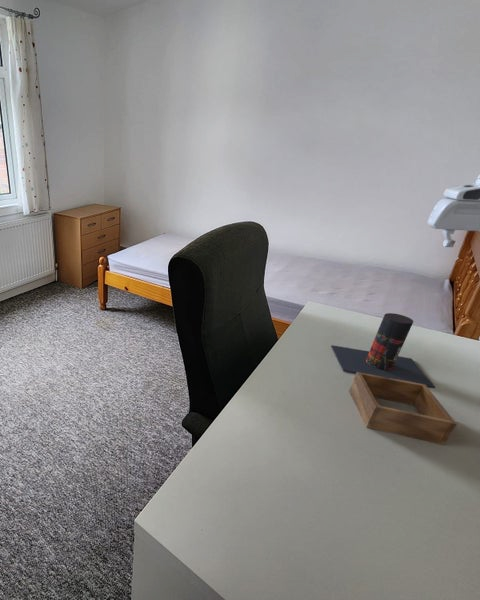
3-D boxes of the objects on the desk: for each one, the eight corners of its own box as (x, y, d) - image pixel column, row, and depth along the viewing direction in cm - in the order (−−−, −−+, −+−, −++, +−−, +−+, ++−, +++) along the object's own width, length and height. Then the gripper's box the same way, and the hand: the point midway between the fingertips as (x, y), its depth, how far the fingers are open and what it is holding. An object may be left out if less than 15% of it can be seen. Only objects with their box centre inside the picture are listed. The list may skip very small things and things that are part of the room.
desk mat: (410, 359, 100) (411, 358, 100) (434, 388, 89) (435, 386, 88) (331, 346, 107) (331, 345, 107) (343, 371, 96) (343, 369, 95)
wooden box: (415, 404, 83) (425, 384, 81) (444, 445, 72) (457, 424, 69) (349, 390, 88) (356, 371, 86) (366, 427, 77) (375, 406, 74)
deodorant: (367, 355, 101) (386, 311, 95) (393, 364, 98) (414, 318, 91) (364, 364, 98) (383, 318, 91) (390, 373, 94) (412, 325, 88)
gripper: (549, 191, 80) (518, 248, 85) (437, 189, 87) (415, 241, 92) (572, 195, 74) (537, 255, 80) (450, 192, 81) (426, 247, 87)
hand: (471, 248), depth 86 cm, fingers open, 8 cm apart
